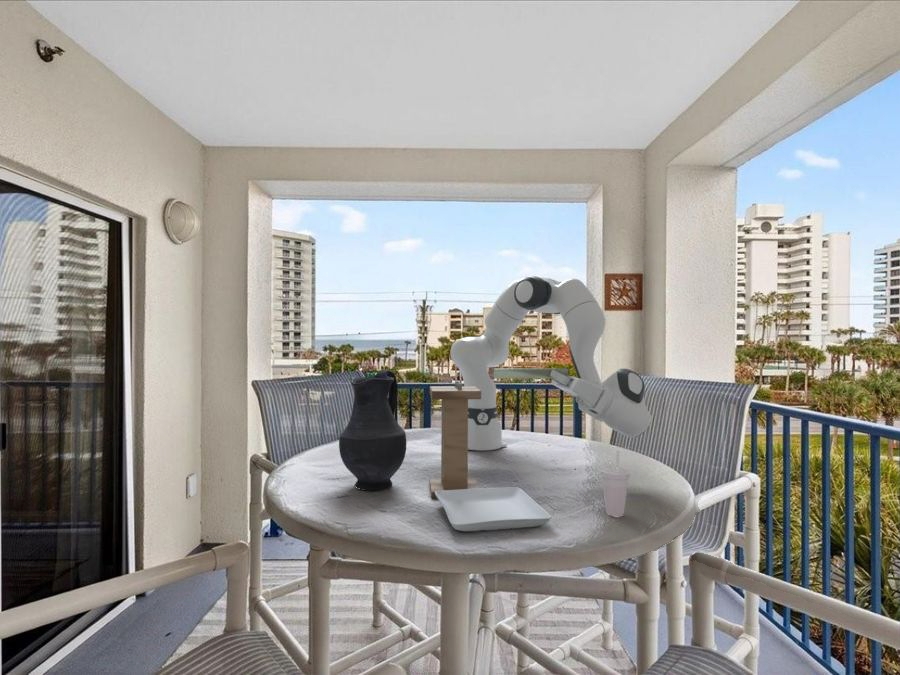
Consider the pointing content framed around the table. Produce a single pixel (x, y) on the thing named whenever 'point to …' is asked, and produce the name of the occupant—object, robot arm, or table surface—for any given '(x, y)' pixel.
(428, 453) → the table surface
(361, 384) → the pitcher
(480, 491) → the salad plate
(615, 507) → the smoothie
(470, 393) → the shelf stand
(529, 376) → the bar
